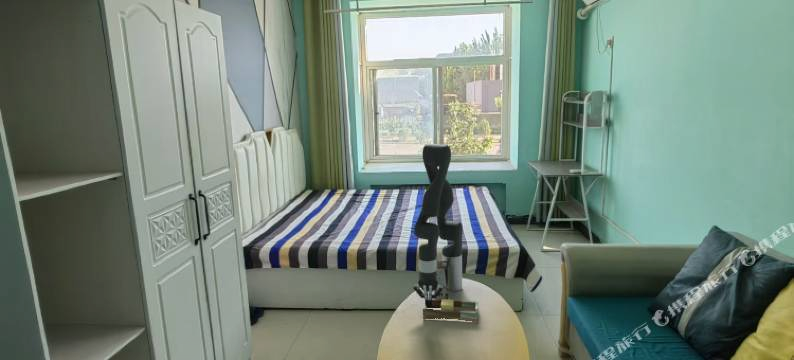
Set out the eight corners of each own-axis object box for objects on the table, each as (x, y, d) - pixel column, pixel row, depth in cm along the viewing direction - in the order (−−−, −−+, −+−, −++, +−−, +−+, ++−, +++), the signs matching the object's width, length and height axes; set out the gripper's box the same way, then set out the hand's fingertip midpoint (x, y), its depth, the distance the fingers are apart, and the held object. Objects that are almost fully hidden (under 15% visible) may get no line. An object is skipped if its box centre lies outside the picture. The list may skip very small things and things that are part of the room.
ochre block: (442, 307, 196) (441, 299, 195) (453, 308, 195) (453, 299, 194) (441, 313, 191) (440, 304, 190) (452, 314, 190) (452, 305, 189)
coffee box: (448, 302, 205) (447, 268, 201) (434, 301, 206) (433, 268, 202) (450, 292, 213) (449, 260, 210) (436, 292, 215) (435, 260, 211)
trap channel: (426, 308, 200) (425, 295, 199) (478, 311, 196) (478, 298, 195) (423, 319, 191) (422, 306, 189) (477, 323, 186) (477, 309, 185)
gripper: (444, 265, 193) (444, 303, 196) (413, 264, 195) (414, 301, 199) (442, 272, 185) (443, 311, 189) (410, 271, 188) (411, 310, 192)
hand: (428, 306), depth 194 cm, fingers closed
